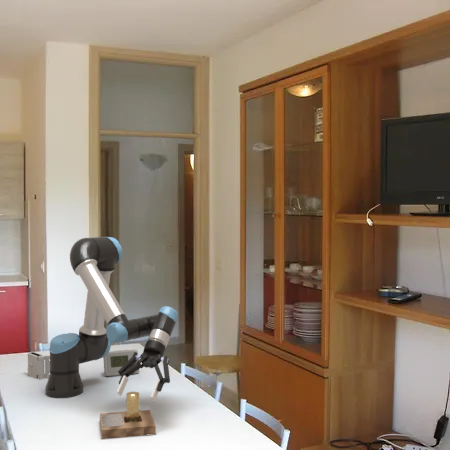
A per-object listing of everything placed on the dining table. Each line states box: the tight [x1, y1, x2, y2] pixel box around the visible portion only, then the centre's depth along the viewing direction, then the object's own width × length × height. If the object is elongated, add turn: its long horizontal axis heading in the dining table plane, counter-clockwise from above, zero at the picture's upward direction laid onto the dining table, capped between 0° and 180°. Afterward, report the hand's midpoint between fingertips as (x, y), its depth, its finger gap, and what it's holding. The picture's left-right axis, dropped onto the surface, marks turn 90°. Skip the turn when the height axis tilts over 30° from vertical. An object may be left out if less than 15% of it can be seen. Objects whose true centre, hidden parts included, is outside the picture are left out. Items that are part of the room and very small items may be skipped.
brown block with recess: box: [99, 409, 157, 440], centre depth 207 cm, size 18×16×3 cm
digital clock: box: [103, 348, 140, 377], centre depth 273 cm, size 16×9×11 cm, turn 101°
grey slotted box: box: [27, 351, 50, 380], centre depth 267 cm, size 14×5×10 cm, turn 59°
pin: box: [125, 391, 140, 423], centre depth 208 cm, size 4×4×12 cm
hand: (135, 396), depth 208 cm, fingers open, 13 cm apart
